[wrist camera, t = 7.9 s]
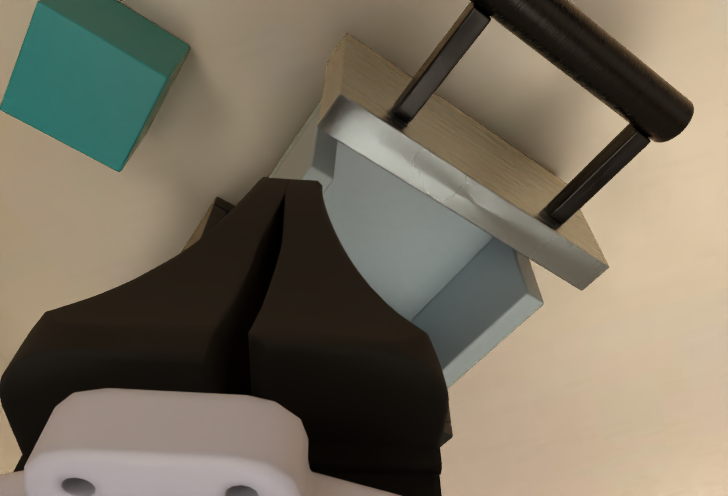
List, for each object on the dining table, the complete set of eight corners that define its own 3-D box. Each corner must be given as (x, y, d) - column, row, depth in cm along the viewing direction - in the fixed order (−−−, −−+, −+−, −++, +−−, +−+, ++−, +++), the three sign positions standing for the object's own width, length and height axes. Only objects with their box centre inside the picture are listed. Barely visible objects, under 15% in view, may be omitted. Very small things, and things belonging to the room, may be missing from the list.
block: (39, 75, 22) (-3, 110, 20) (77, -25, 20) (37, 0, 18) (145, 134, 23) (119, 173, 21) (191, 46, 21) (168, 78, 19)
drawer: (441, -112, 18) (462, -83, 14) (673, 80, 21) (747, 150, 17) (186, 275, 26) (151, 365, 22) (380, 369, 29) (381, 463, 25)
